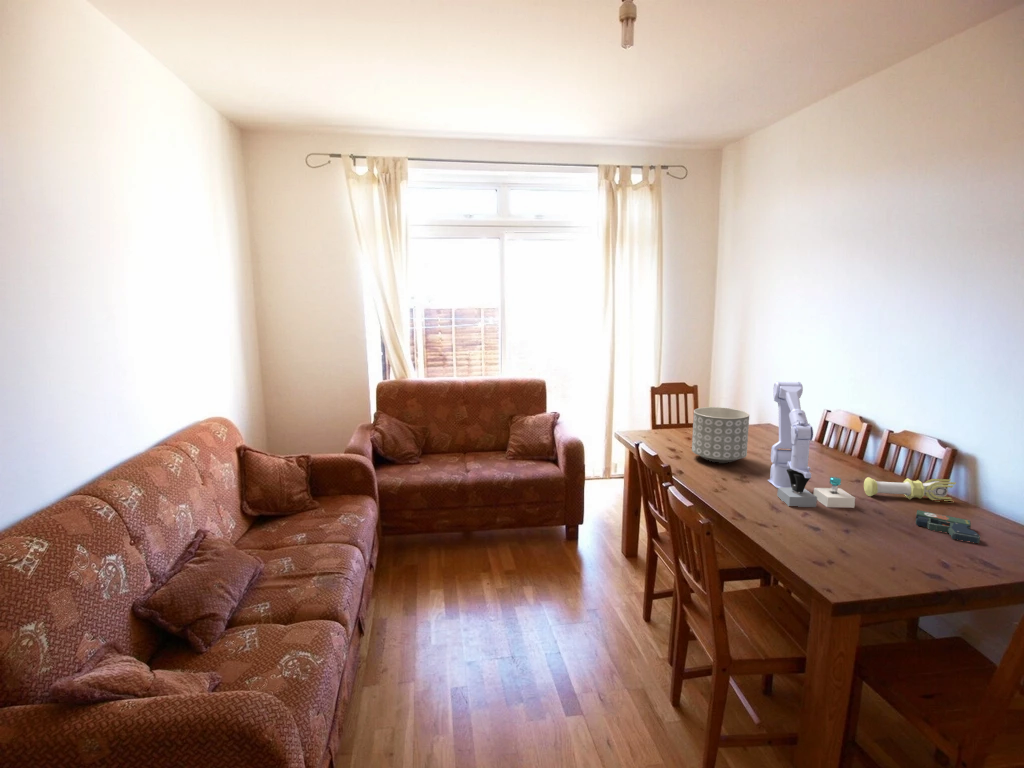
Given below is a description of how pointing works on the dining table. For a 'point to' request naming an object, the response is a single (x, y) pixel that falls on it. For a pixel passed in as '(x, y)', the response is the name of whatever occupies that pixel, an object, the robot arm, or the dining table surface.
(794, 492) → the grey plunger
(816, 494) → the cream block
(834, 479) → the teal round knob
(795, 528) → the dining table surface
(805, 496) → the grey block
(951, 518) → the gun
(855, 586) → the dining table surface
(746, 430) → the planter
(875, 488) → the yellow toy scepter
